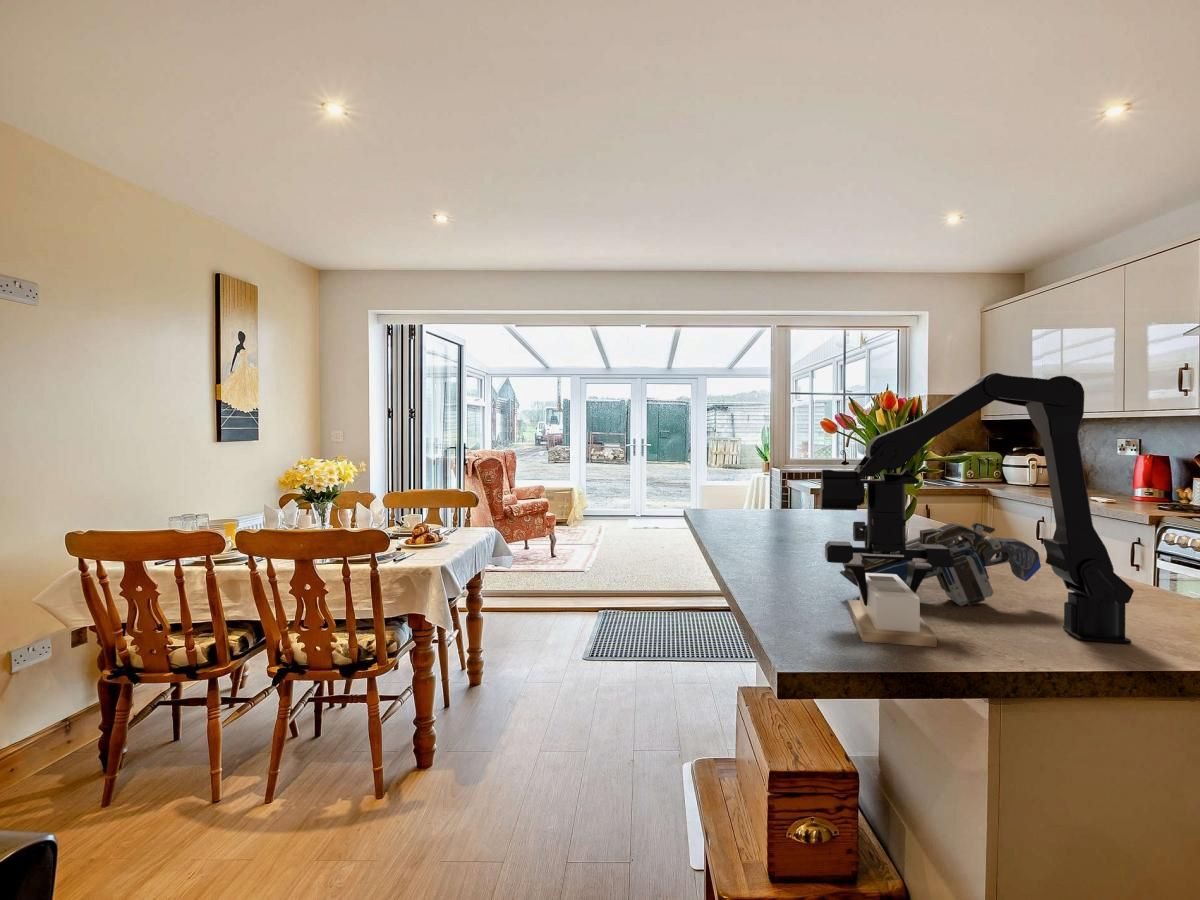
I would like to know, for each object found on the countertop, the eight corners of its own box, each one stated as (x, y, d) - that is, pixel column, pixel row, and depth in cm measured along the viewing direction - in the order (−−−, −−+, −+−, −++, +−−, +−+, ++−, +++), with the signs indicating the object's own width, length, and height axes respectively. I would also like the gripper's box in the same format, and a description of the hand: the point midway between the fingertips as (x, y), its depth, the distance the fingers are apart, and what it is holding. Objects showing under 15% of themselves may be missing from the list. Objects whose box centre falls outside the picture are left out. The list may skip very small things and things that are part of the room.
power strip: (859, 600, 113) (859, 572, 113) (896, 602, 111) (896, 574, 111) (875, 629, 96) (876, 596, 96) (919, 632, 94) (919, 598, 94)
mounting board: (908, 611, 111) (908, 582, 111) (936, 646, 92) (936, 611, 92) (847, 607, 114) (847, 579, 114) (862, 641, 95) (862, 607, 94)
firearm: (1056, 580, 110) (1020, 500, 111) (869, 640, 117) (837, 564, 118) (1035, 571, 118) (1002, 496, 119) (861, 628, 125) (831, 556, 126)
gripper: (936, 507, 109) (936, 598, 110) (822, 505, 114) (822, 592, 114) (954, 514, 99) (954, 614, 99) (827, 511, 104) (827, 607, 104)
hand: (886, 606), depth 104 cm, fingers closed on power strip, 6 cm apart
